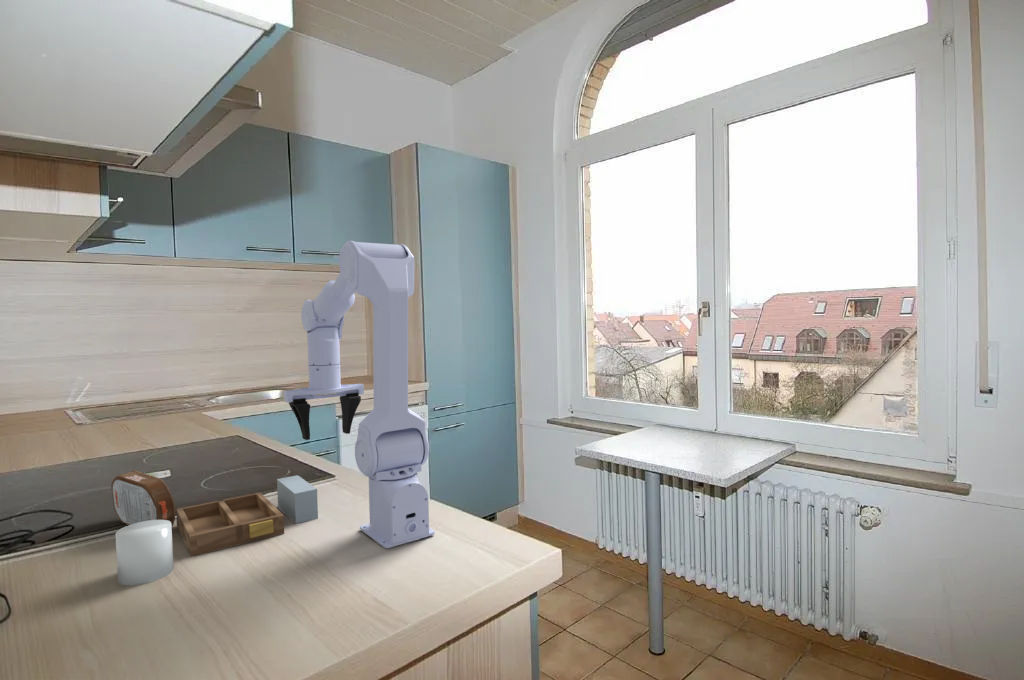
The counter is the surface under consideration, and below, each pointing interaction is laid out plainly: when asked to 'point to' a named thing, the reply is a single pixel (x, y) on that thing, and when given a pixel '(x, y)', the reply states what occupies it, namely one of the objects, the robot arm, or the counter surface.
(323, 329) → the robot arm
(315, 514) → the grey rectangular block
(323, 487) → the counter surface
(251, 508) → the tray
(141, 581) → the white rounded pillar
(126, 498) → the tin
